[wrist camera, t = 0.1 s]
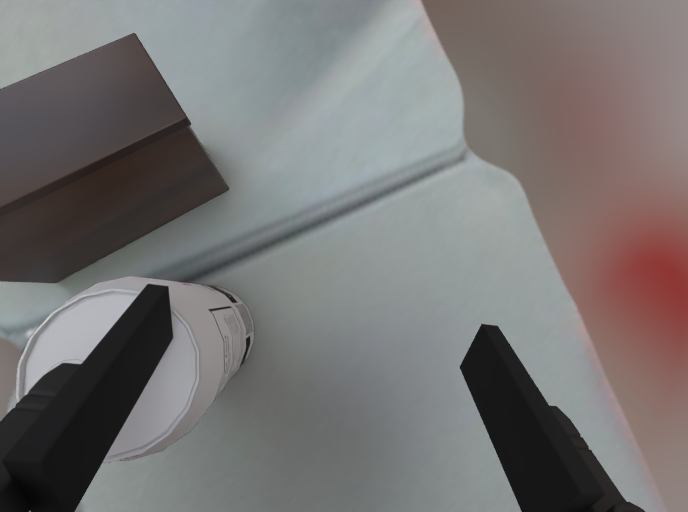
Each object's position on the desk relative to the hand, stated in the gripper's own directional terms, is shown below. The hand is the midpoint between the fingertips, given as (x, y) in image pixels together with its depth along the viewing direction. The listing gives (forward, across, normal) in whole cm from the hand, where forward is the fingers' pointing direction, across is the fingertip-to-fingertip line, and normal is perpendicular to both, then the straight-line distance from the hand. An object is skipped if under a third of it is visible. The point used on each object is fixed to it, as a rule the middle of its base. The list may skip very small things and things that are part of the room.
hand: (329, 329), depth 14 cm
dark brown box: (+17, +17, +4) cm, 24 cm away
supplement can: (+11, +9, +12) cm, 19 cm away
